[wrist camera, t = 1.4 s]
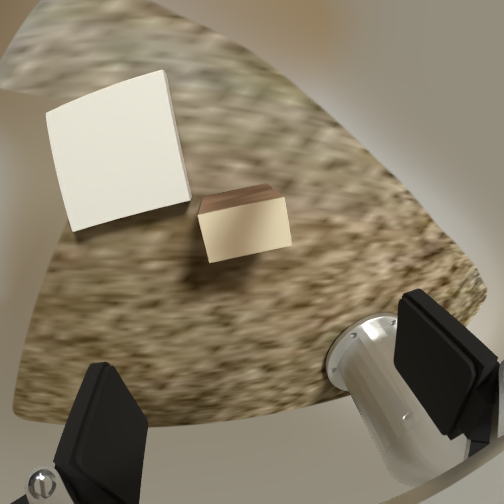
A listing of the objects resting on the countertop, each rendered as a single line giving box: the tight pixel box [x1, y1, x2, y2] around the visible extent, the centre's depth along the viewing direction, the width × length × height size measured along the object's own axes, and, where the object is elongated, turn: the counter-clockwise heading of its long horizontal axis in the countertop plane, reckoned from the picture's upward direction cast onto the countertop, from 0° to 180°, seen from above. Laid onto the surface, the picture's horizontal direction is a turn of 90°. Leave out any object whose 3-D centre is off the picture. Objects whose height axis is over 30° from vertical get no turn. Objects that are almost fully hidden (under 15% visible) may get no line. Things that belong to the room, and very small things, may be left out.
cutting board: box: [46, 70, 192, 232], centre depth 24 cm, size 12×12×2 cm
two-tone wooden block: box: [198, 184, 292, 263], centre depth 25 cm, size 6×4×8 cm, turn 101°
